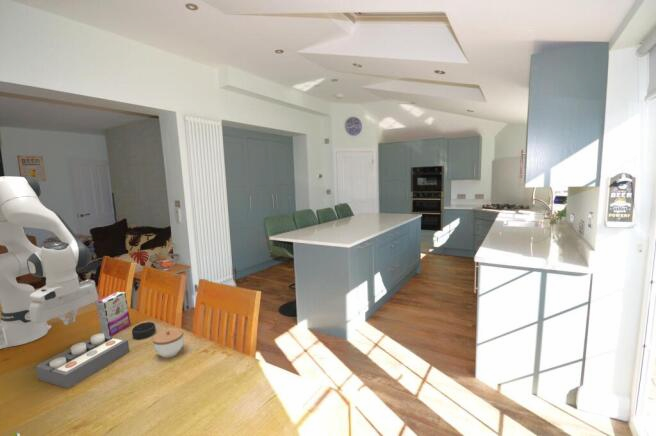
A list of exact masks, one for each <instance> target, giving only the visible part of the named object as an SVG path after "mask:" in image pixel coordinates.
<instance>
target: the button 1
mask: <svg viewBox="0 0 656 436" xmlns="http://www.w3.org/2000/svg"><path fill="white" fill-rule="evenodd" d="M65 363H67V362H66V358H65V357H60V358H56V359H54V360H52V361H51V362H50V363H49V364H50V366H51V367H54V368H55V369H56V368H57V367H59V366H61V365H63V364H65Z"/></svg>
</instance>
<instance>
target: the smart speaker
mask: <svg viewBox="0 0 656 436" xmlns="http://www.w3.org/2000/svg"><path fill="white" fill-rule="evenodd" d="M156 331H157V329H156V324H155V323H154V322H151V321H150V322H149V321H147V322H141V323H139V324H137V325H134V327H133V328H132V329H131V334H132V338H133V339H136V340H141V339H142V340H143V339H146V338H149V337H151V336H153V335H154V334H155V333H156Z"/></svg>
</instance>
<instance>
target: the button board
mask: <svg viewBox="0 0 656 436" xmlns="http://www.w3.org/2000/svg"><path fill="white" fill-rule="evenodd" d="M104 337H105V342H104V343H103V344H101V345H99V346H97V347H96V345H91V339H87V340H85V341H83V342H84V343H86V349H87V352H86V353H84V354H82V355H80V356H78V357H77V356H75V355H72V353H71V348H69V349H68V350H65V351H64V352H61V353H59V354H57V355H55V356H53V357H51V358H50V359H47V360H45V361H43V362H40V363H39V364H38V365H36V366H35V371H36V376H37V379H38V380H39V381H41V382H46V383H50V384H52V385H57V386H59V387H63V388H66V389H70V388H72V387H73V386H75V385H77V384H78V383H80V382H81V381H84V380H86V378H88V377H90V376H91V375H94V374H95V373H96V372H98V371H100V370H102V369H104V367H106V366H108V365H110V364H112V363H113V362H115V361H116V360H118V359H120V358H121V357H123V356H124V355H126V354H128V353H130V345H129V340H128V339H124V338H119V337H115V336H111V337H110V336H105V335H104ZM60 357H65V358H66V362H67V363H65V364H63V365H61V366H59V367H57V368H56V369H55V368H54V367H51V366H50V364H49V363H50V362H51V361H52V360H54V359H56V358H60Z"/></svg>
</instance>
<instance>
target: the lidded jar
mask: <svg viewBox="0 0 656 436" xmlns="http://www.w3.org/2000/svg"><path fill="white" fill-rule="evenodd" d="M184 333H185V332H184V330H183V329H182V328H179V327H172V328H171V327H170V328H167V329H164V330H161V331H159V332H157V333H156V334H155V335H154V336H153V337H152V343H153V347H154V350H155V352H156V354H158V355H159V356H161V357H162V358H166V359H167V358H171V357H174V356H176V355H178V353H180V350H181V349H182V348H183V346H184V340H185V339H184V337H185V334H184Z"/></svg>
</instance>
